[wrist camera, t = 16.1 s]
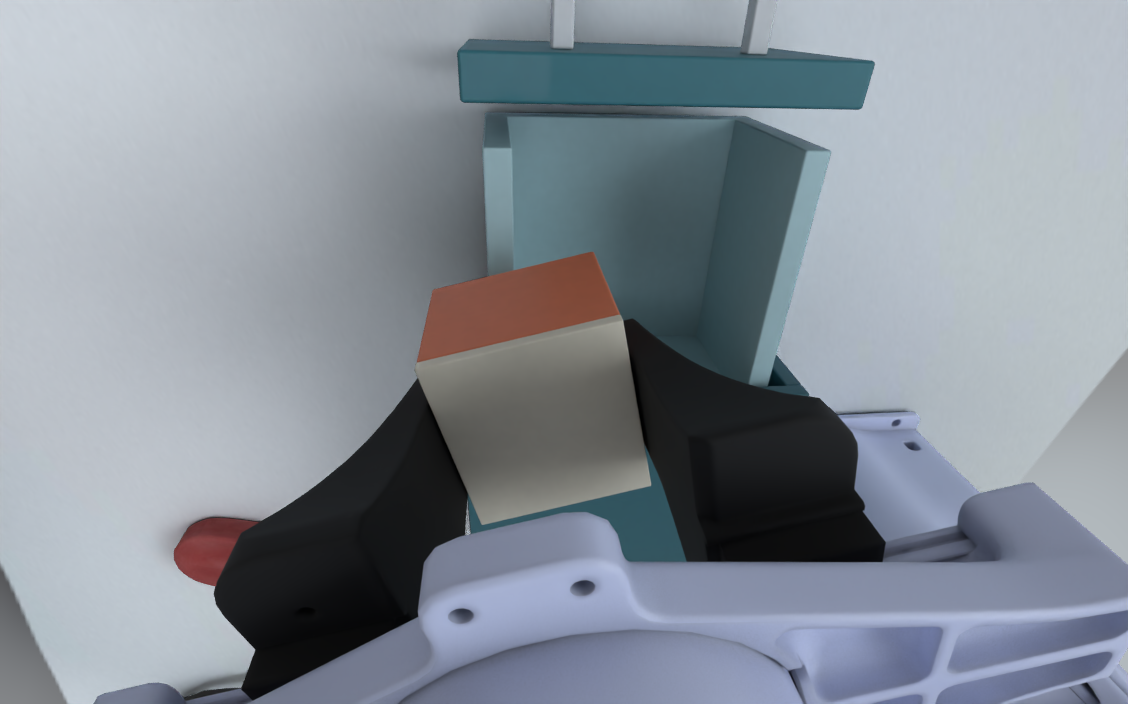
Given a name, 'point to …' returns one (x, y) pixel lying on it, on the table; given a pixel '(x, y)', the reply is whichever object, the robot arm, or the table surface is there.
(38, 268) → the table surface
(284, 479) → the table surface
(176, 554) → the popsicle
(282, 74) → the table surface
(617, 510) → the teal drawer cabinet
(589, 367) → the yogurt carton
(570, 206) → the drawer
